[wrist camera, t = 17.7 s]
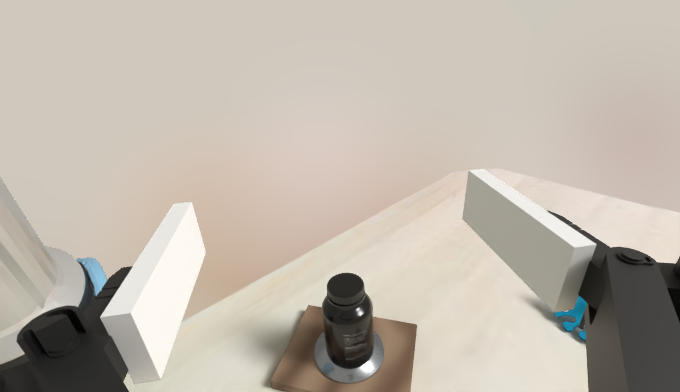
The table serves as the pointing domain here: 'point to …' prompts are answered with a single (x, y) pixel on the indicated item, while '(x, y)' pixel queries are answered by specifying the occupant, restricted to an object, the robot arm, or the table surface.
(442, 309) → the table surface
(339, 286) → the supplement bottle
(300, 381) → the walnut board
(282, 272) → the table surface
